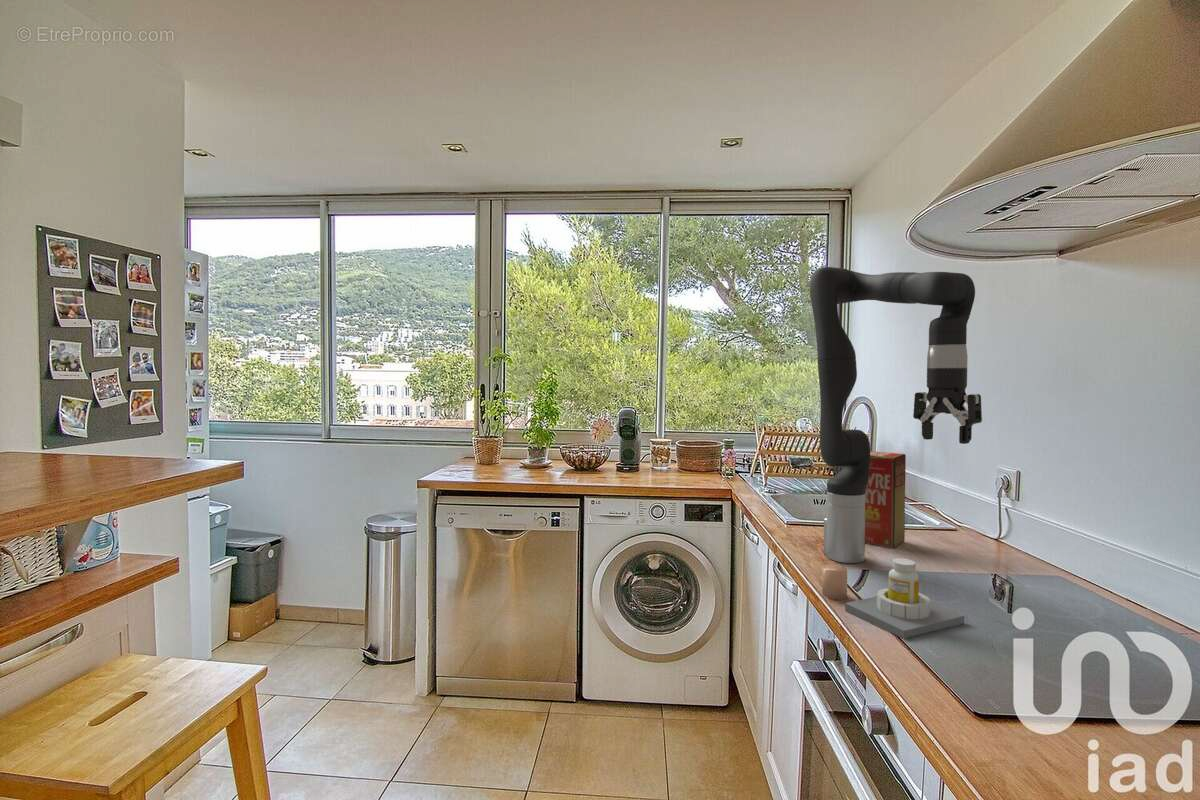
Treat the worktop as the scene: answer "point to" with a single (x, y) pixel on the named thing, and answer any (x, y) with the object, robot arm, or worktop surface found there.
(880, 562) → the worktop surface
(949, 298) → the robot arm
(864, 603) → the collar board
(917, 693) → the worktop surface
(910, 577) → the supplement bottle
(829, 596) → the peach pill-shaped knob
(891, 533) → the food packaging
